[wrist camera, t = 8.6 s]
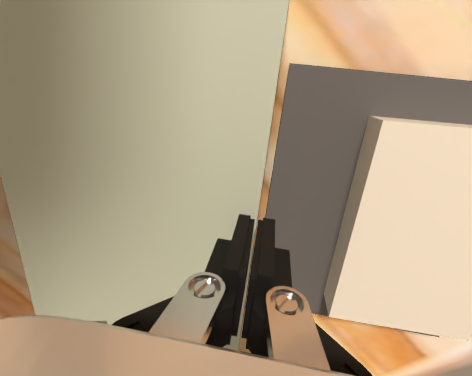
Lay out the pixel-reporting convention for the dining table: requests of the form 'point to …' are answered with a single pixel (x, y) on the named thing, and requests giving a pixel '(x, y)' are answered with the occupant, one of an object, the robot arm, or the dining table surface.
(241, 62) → the sage green block
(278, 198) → the mat
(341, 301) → the cream flat block
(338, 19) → the dining table surface
